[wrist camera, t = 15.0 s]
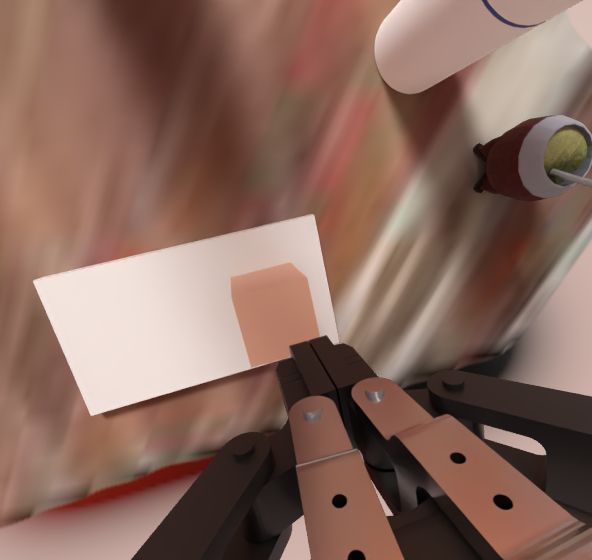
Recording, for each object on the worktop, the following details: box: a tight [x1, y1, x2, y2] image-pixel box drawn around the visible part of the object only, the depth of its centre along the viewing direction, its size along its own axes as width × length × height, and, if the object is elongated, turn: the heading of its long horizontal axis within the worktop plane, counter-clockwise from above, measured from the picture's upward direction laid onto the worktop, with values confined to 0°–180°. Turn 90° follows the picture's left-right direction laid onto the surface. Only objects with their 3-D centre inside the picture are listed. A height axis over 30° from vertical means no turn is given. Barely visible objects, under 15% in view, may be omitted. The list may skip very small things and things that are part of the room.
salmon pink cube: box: [230, 262, 320, 368], centre depth 28 cm, size 6×6×7 cm
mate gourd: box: [473, 115, 592, 201], centre depth 28 cm, size 8×8×15 cm
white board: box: [33, 214, 339, 416], centre depth 32 cm, size 24×13×2 cm, turn 102°
